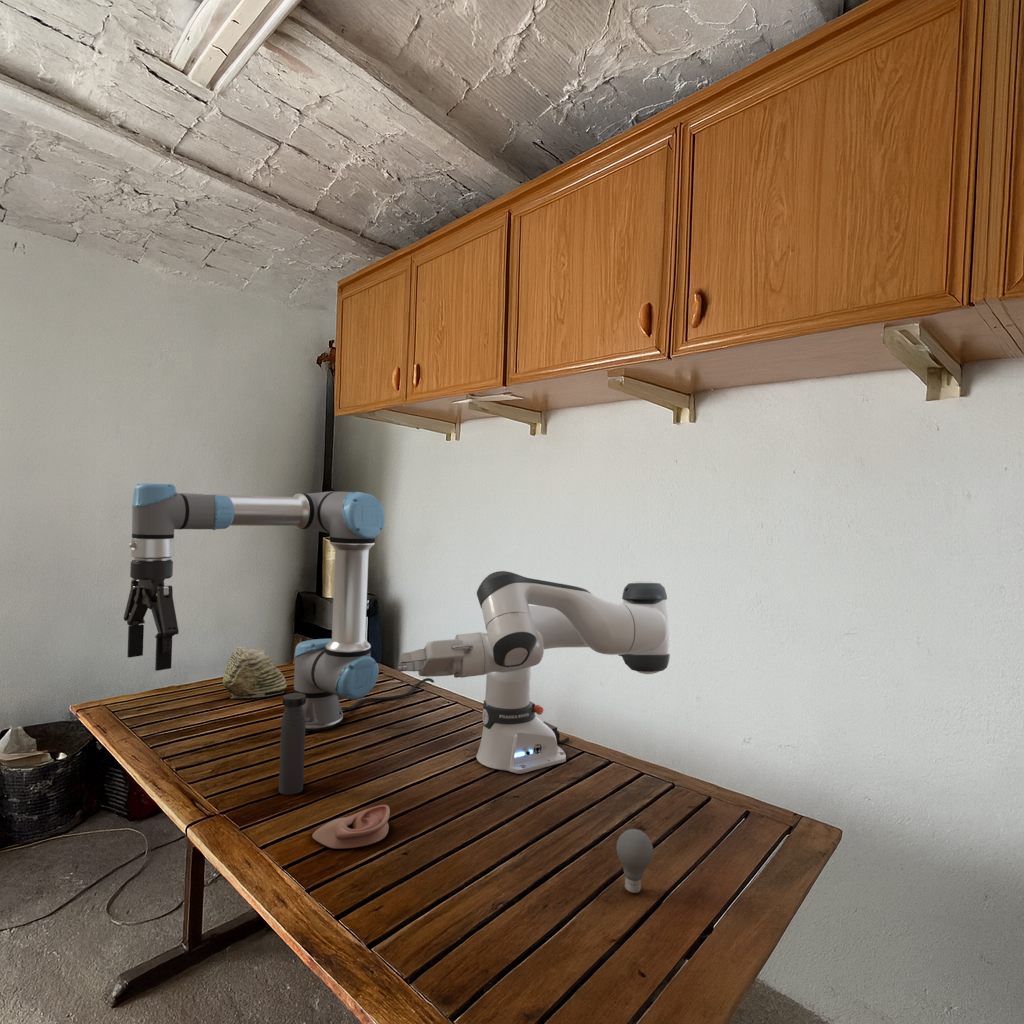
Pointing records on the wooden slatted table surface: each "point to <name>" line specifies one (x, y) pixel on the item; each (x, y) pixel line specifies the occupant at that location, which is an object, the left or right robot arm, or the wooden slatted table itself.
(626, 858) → the light bulb
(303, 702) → the cap
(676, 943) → the wooden slatted table surface
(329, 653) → the left robot arm
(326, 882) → the wooden slatted table surface
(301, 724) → the bottle
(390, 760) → the wooden slatted table surface
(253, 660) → the fossil
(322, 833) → the anatomical model
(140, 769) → the wooden slatted table surface
